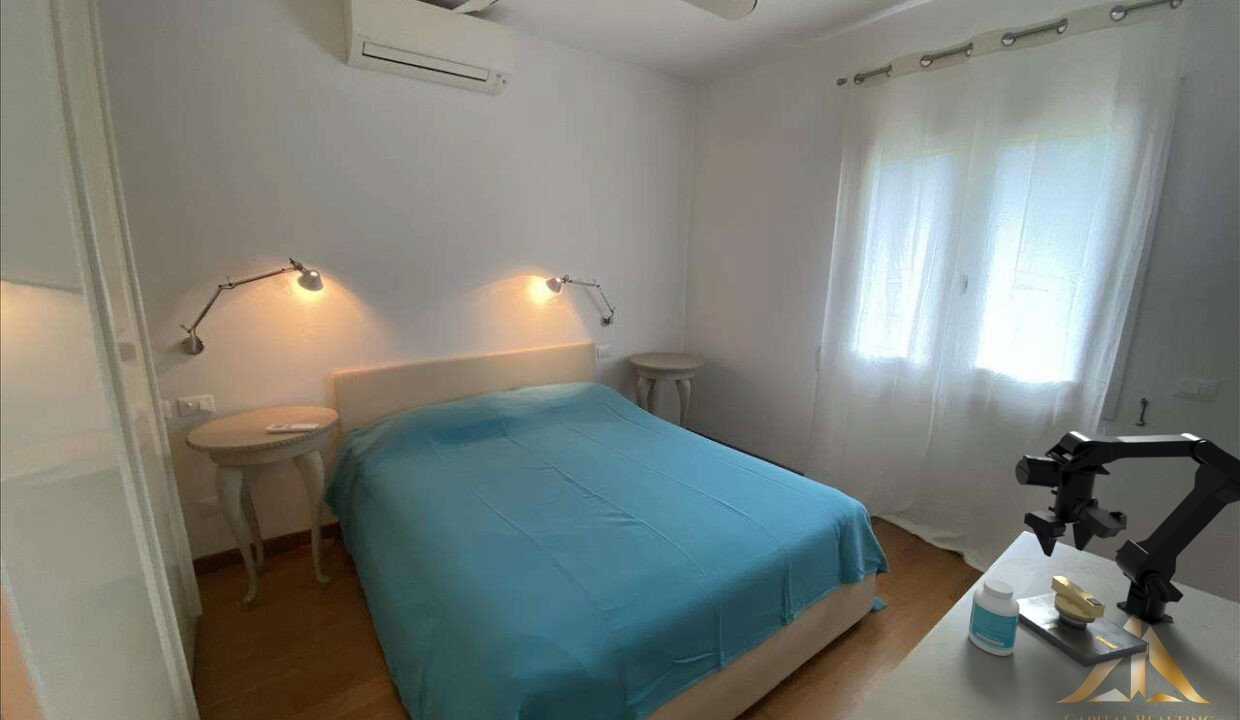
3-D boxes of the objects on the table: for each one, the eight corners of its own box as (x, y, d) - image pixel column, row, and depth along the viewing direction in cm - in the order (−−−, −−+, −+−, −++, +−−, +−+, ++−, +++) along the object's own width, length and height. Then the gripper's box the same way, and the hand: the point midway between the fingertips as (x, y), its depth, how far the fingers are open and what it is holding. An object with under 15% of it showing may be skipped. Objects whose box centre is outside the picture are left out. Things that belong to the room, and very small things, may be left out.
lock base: (1058, 598, 111) (1061, 583, 110) (1146, 651, 96) (1150, 634, 95) (1003, 610, 108) (1005, 594, 107) (1084, 667, 92) (1088, 649, 91)
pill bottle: (1021, 660, 94) (1031, 600, 91) (979, 655, 95) (987, 595, 93) (1000, 632, 101) (1008, 575, 99) (960, 627, 103) (968, 572, 100)
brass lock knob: (1040, 597, 105) (1044, 576, 104) (1069, 597, 105) (1073, 575, 104) (1079, 628, 96) (1083, 604, 95) (1110, 627, 96) (1115, 604, 95)
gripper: (1084, 512, 96) (1071, 581, 99) (1152, 501, 100) (1138, 568, 103) (1026, 488, 106) (1016, 551, 109) (1091, 478, 110) (1079, 539, 113)
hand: (1063, 552), depth 108 cm, fingers open, 9 cm apart
